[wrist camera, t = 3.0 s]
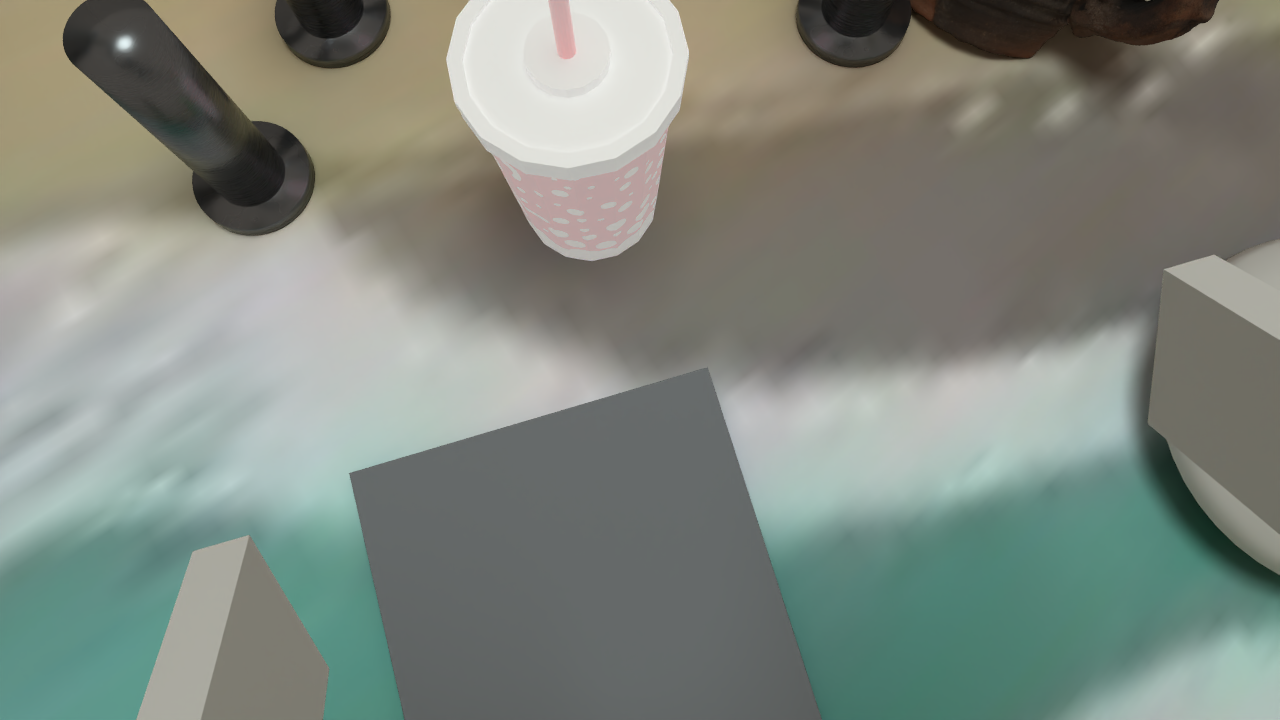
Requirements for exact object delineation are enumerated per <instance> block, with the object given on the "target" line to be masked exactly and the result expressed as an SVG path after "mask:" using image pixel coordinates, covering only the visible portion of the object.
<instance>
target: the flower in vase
mask: <svg viewBox="0 0 1280 720" xmlns="http://www.w3.org/2000/svg"><path fill="white" fill-rule="evenodd" d="M1226 261H1227V262H1228V263H1230V264H1232V265H1234V266H1236V267H1237V268H1239V269H1241V270H1243V271H1245V272H1246V273H1248V274H1250V275H1252V276H1254V277H1255V278H1257V279H1259V280H1261V281H1263V282H1265V283H1266V284H1268V285H1270V286H1272V287H1274V288H1275V289H1277V290H1279V291H1280V239H1277V240H1272V241H1268V242H1265V243H1262V244H1259V245H1256V246H1254V247H1251V248H1248V249H1246V250H1244V251H1242V252H1240V253H1238V254H1236V255H1234V256H1232V257H1230V258H1229V259H1227V260H1226ZM1167 442H1168V445H1169V448H1170V451H1171V454H1172V457H1173V460H1174V462H1175V464H1176V466H1177V468H1178V470H1179V472H1180V474H1181V476H1182V478H1183V480H1184V482H1185V484H1186V485H1187V487H1188V489H1189V490H1190V492H1191V493H1192V495H1193V496H1194V498H1195V500H1196V501H1197V503H1198V504H1199V506H1200V507H1201V508H1202V509H1203V511H1204V512H1205V513H1206V514H1207V515H1208V517H1209V518H1210V519H1211V520H1212V522H1213V523H1214V524H1215V525H1216V526H1217V527H1218V528H1219V529H1220V530H1221V531H1222V532H1223V533H1224V534H1225V535H1226V536H1227V537H1228V538H1229V539H1230V540H1231V541H1232V542H1233V543H1234V544H1235V545H1236V546H1238V547H1239V548H1240V549H1242V550H1243V551H1244V552H1245V553H1247V554H1248V555H1249V556H1251V557H1252V558H1253V559H1254V560H1256V561H1257V562H1259V563H1260V564H1262V565H1264V566H1265V567H1267V568H1268V569H1270V570H1272V571H1273V572H1275V573H1277V574H1278V575H1280V535H1279V534H1278V533H1277V532H1276V531H1275V530H1273V529H1272V528H1271V527H1270V526H1269V525H1268V524H1266V523H1265V522H1264V521H1263V520H1262V519H1260V518H1259V517H1258V516H1257V515H1256V514H1254V513H1253V512H1252V511H1251V510H1250V509H1249V508H1247V507H1246V506H1245V505H1244V504H1243V503H1241V502H1240V501H1239V500H1238V499H1237V498H1235V497H1234V496H1233V495H1232V494H1231V493H1230V492H1228V491H1227V490H1226V489H1225V488H1224V487H1222V486H1221V485H1220V484H1219V483H1218V482H1216V481H1215V480H1214V479H1213V478H1212V477H1211V476H1209V475H1208V474H1207V473H1206V472H1205V471H1203V470H1202V469H1201V468H1200V467H1199V466H1197V465H1196V464H1195V463H1194V462H1193V461H1192V460H1190V459H1189V458H1188V457H1187V456H1186V455H1184V454H1183V453H1182V452H1181V451H1180V450H1178V449H1177V448H1176V447H1175V446H1174V445H1173V444H1171V443H1170V442H1169V441H1168V440H1167Z"/></svg>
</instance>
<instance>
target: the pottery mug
mask: <svg viewBox="0 0 1280 720" xmlns="http://www.w3.org/2000/svg"><path fill="white" fill-rule="evenodd" d="M1218 1H1219V0H1150V1H1145V0H910V3H911V7H912V8H913V9H914V10H915V11H916V12H917V13H918V14H920V15H922V16H923V17H925V18H926V19H927V20H929V21H931V22H933V23H934V24H935V25H936V26H937V27H939V28H941V29H942V30H944V31H946V32H948V33H950V34H952V35H953V36H954V37H955V38H956V39H958V40H959V41H962V42H966V43H969V44H971V45H973V46H975V47H977V48H979V49H981V50H986V51H988V52H990V53H994V54H1000V55H1006V56H1011V57H1020V58H1030V57H1032V56H1033V55H1034V54H1035V53H1036V52H1037V51H1038V50H1039V49H1040V48H1041V47H1042V45H1043V44H1044V43H1045V42H1046V41H1047V40H1048V39H1050V38H1052V37H1053V36H1054V35H1055V34H1056V33H1057V32H1058V31H1059V29H1061V28H1062V27H1064V26H1065V25H1066V24H1068V23H1069V24H1070V26H1071V29H1072V31H1073V34H1074V35H1075V36H1077V37H1080V38H1082V37H1090V36H1092V35H1099V36H1102V37H1104V38H1107V39H1110V40H1113V41H1117V42H1123V43H1126V44H1130V45H1139V46H1140V45H1150V44H1155V43H1159V42H1162V41H1166V40H1171V39H1174V38H1177V37H1179V36H1182V35H1184V34H1185V33H1187V32H1189V31H1190V30H1191V29H1192V28H1193V27H1195V26H1197V25H1198V24H1200V23H1206V22H1208V21H1209V20H1210V19H1211V18H1212V16H1213V14H1214V11H1215V8H1216V5H1217V3H1218Z"/></svg>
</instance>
